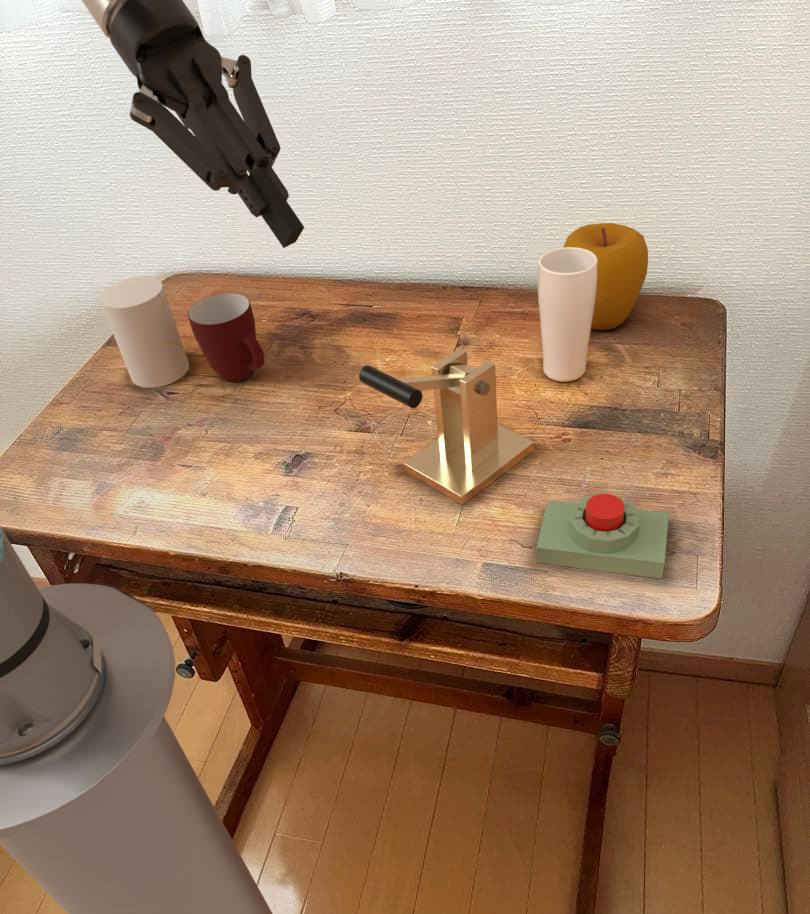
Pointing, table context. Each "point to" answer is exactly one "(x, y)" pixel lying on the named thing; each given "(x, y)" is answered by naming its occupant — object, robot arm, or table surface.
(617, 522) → the stop button
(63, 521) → the table surface
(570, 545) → the control pad
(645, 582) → the table surface
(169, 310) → the cup
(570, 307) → the drinking glass
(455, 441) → the power switch
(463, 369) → the lever
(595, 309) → the apple
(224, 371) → the mug
